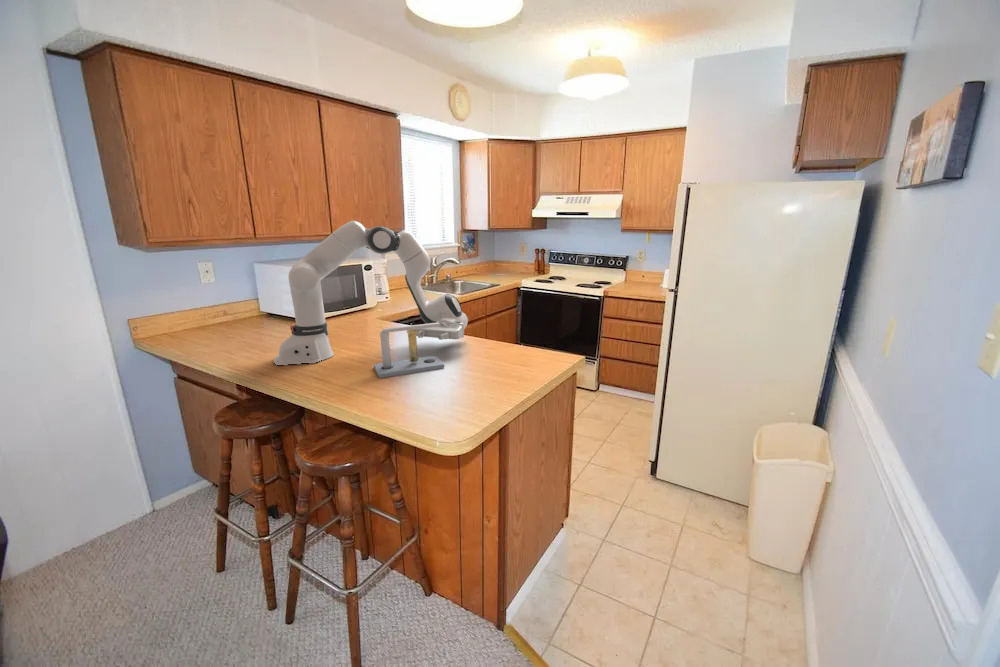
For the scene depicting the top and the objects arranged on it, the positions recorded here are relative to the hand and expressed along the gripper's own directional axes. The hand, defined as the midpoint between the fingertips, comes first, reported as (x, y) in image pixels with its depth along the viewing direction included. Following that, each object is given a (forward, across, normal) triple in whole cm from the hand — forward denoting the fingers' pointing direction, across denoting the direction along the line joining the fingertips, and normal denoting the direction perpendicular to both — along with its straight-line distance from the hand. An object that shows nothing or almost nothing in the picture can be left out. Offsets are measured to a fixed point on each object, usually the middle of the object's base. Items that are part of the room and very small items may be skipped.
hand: (429, 336), depth 172 cm
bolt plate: (+14, -2, +9) cm, 16 cm away
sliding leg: (+12, 0, +7) cm, 14 cm away
